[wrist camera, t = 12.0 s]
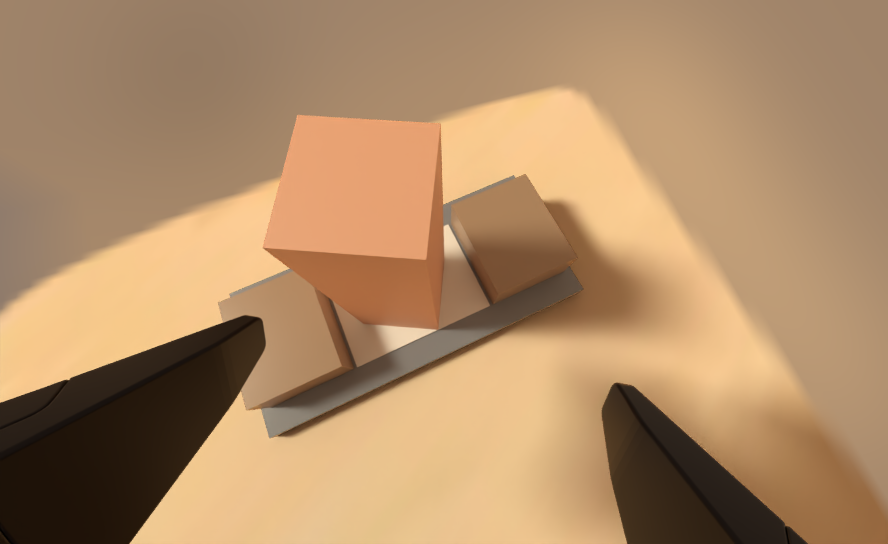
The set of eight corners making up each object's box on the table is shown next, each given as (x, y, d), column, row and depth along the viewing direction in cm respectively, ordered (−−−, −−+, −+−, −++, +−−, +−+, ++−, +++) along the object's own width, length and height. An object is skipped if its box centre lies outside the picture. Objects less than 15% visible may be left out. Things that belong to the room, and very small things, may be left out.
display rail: (276, 436, 20) (244, 445, 17) (236, 297, 23) (202, 282, 19) (578, 292, 22) (600, 277, 19) (511, 181, 25) (520, 152, 22)
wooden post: (438, 329, 21) (426, 259, 9) (363, 323, 21) (262, 247, 10) (444, 259, 22) (440, 123, 11) (374, 254, 22) (297, 115, 11)
